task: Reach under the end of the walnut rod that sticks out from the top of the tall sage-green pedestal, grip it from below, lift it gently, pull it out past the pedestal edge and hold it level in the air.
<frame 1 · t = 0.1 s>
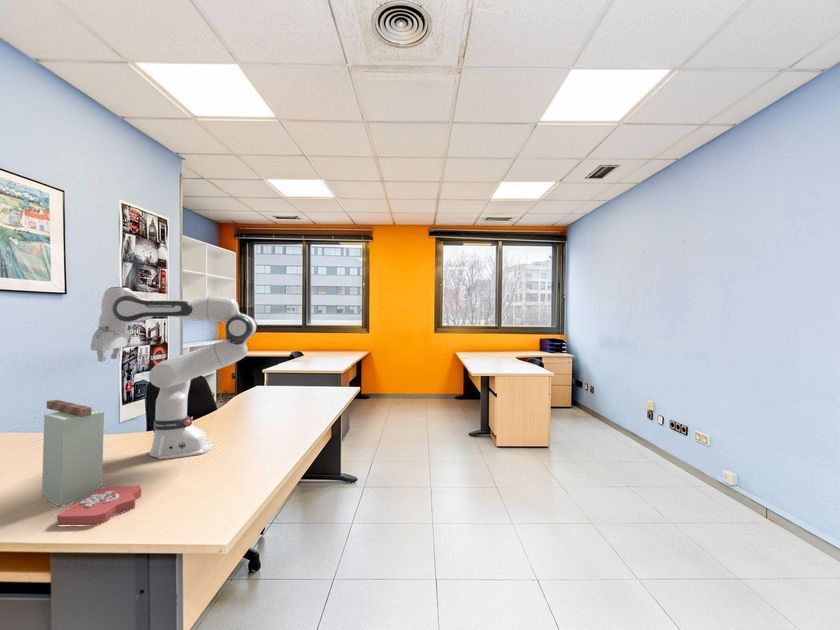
hand: (107, 360, 149), 39 cm above the table, tool pointing down, fingers open, 8 cm apart
plaque: (107, 511, 109), on the table
rod: (65, 410, 119), point 26 cm above the table, touching pedestal
pedestal: (72, 495, 116), on the table
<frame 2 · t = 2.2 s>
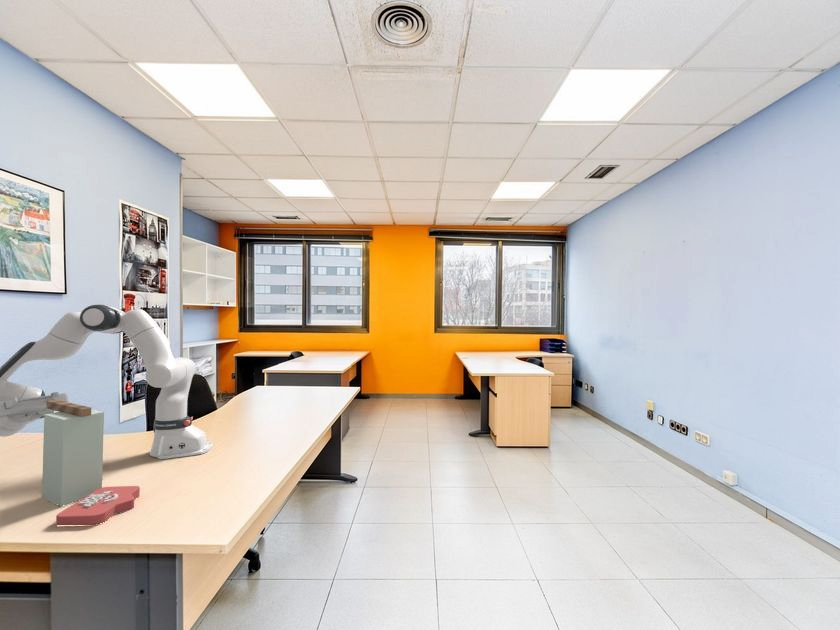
hand: (37, 396, 127), 29 cm above the table, tool pointing upward, fingers open, 8 cm apart
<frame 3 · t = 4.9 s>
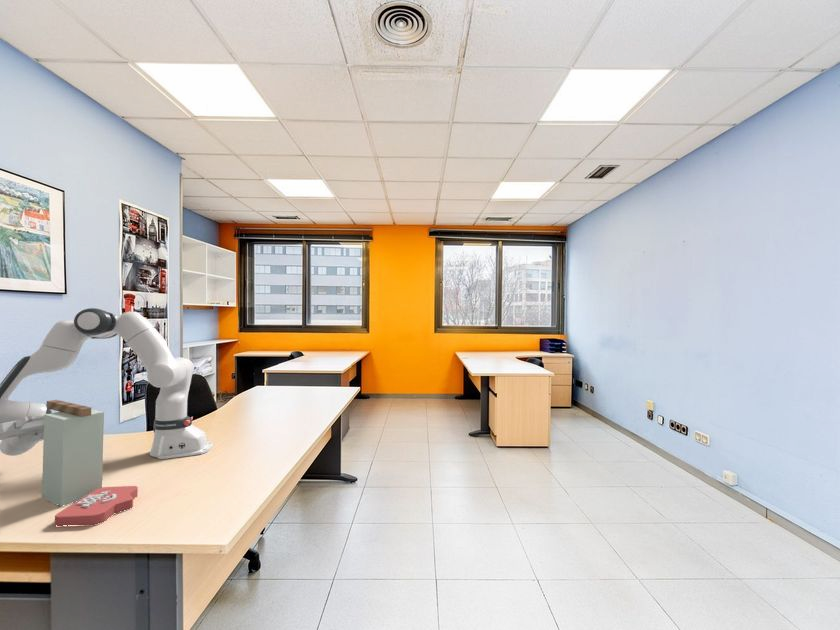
hand: (48, 415, 124), 23 cm above the table, tool pointing upward, fingers open, 8 cm apart
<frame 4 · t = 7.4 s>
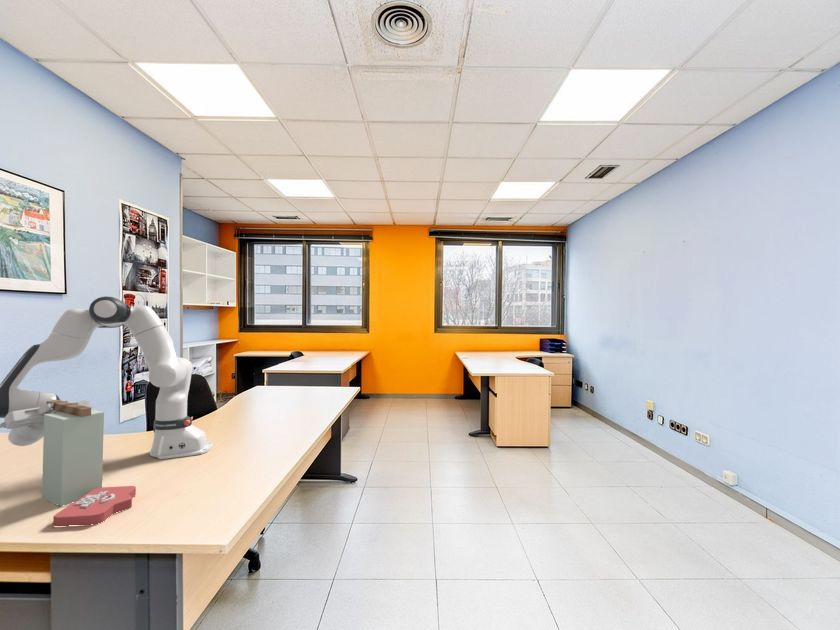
hand: (59, 404, 120), 28 cm above the table, tool pointing upward, fingers closed on rod, 2 cm apart
rod: (65, 410, 119), point 26 cm above the table, touching gripper, pedestal
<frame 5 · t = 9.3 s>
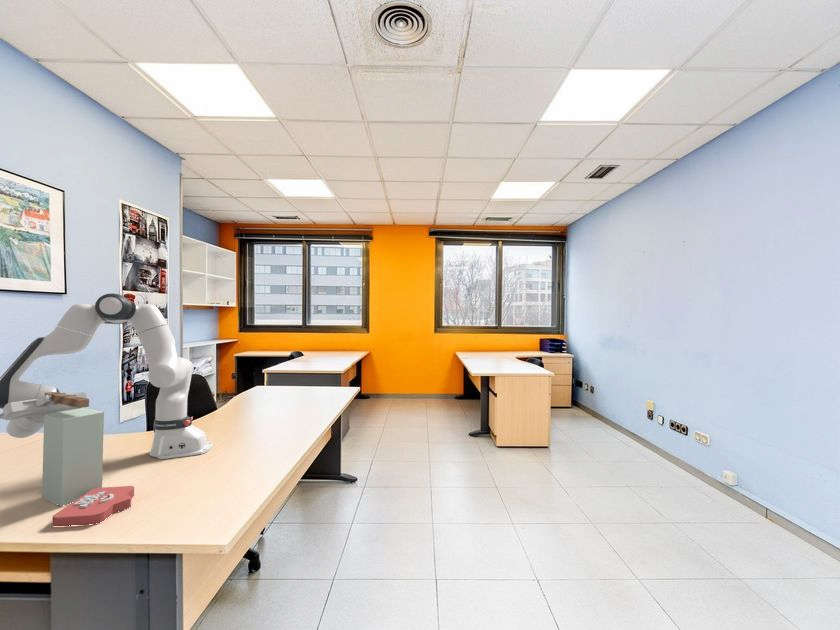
hand: (57, 395, 121), 30 cm above the table, tool pointing upward, fingers closed on rod, 2 cm apart
rod: (62, 402, 119), point 29 cm above the table, touching gripper
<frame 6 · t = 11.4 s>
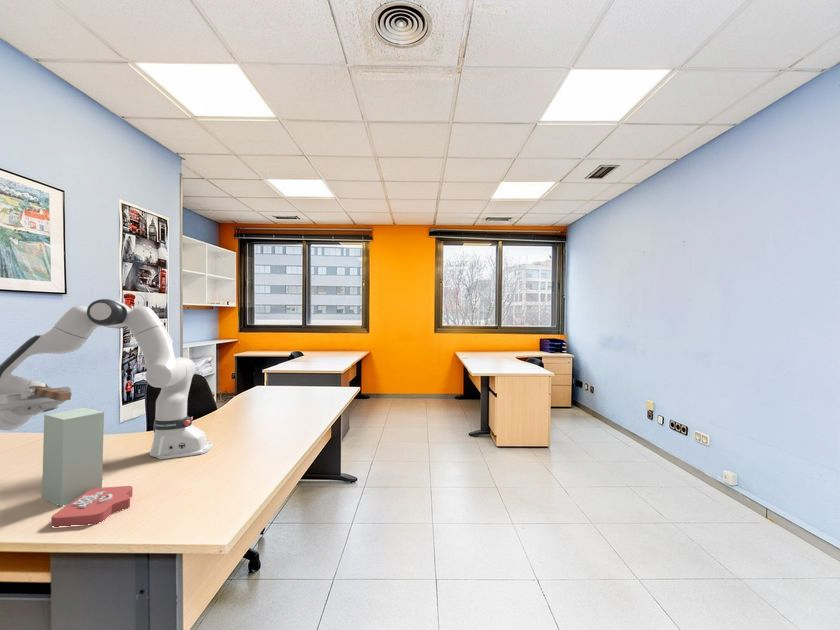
hand: (41, 389, 126), 31 cm above the table, tool pointing upward, fingers closed on rod, 2 cm apart
rod: (46, 395, 124), point 30 cm above the table, touching gripper
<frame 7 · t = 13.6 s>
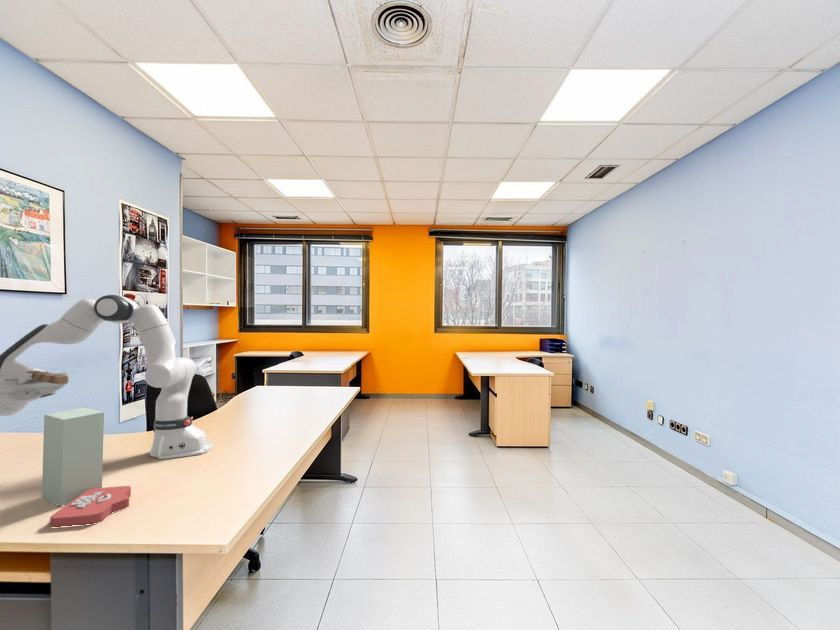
hand: (38, 374, 127), 36 cm above the table, tool pointing upward, fingers closed on rod, 2 cm apart
rod: (43, 380, 125), point 35 cm above the table, touching gripper
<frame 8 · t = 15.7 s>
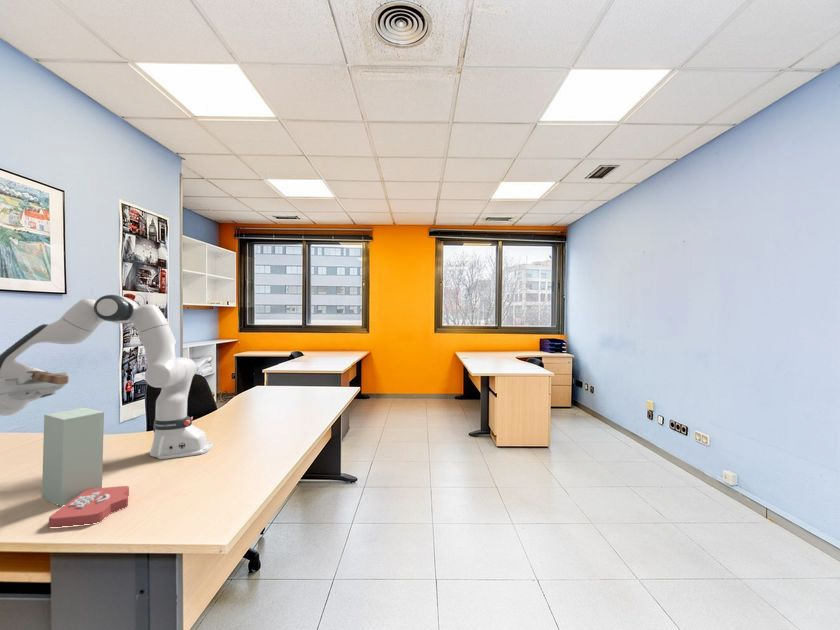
hand: (38, 374, 127), 36 cm above the table, tool pointing upward, fingers closed on rod, 2 cm apart
rod: (43, 380, 125), point 35 cm above the table, touching gripper
at the end: the gripper is holding rod; rod point 34.6 cm above the table; rod tilted 0° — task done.
